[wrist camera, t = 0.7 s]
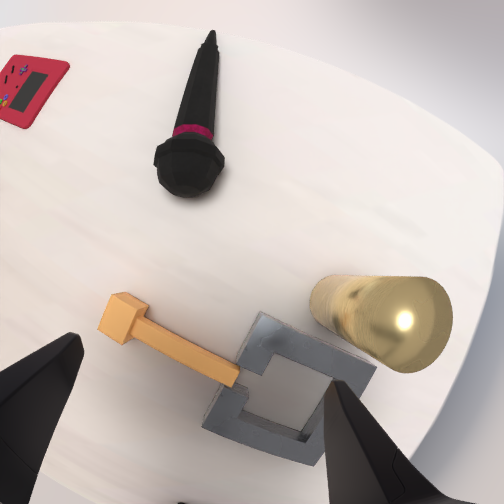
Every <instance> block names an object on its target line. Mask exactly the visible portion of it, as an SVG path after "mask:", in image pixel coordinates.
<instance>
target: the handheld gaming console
mask: <svg viewBox="0 0 504 504" xmlns="http://www.w3.org/2000/svg"><path fill="white" fill-rule="evenodd" d="M69 68H70V65H69V63H68V62H66V61H60V60H54V59H48V58H41V57H33V56H25V55H13V56H12V57H11V58H10V60H9V61H8V62H7V64H6V65H5V67H4V68H3V69H2V71H1V72H0V119H2V120H4V121H6V122H9V123H11V124H13V125H16V126H18V127H20V128H23V129H27V128H29V127H30V126H31V125H32V123H33V122H34V120H35V118H36V117H37V115H38V113H39V112H40V110H41V109H42V107H43V105H44V104H45V102H46V101H47V99H48V98H49V96H50V95H51V93H52V92H53V90H54V89H55V88H56V86H57V85H58V83H59V82H60V80H61V79H62V78H63V76H64V75H65V74H66V72H67V71H68V70H69Z"/></svg>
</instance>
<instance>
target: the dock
mask: <svg viewBox="0 0 504 504" xmlns="http://www.w3.org/2000/svg"><path fill="white" fill-rule="evenodd" d="M274 352H275V353H278V354H280V355H282V356H284V357H286V358H289V359H291V360H293V361H296V362H298V363H300V364H303V365H305V366H307V367H310V368H312V369H314V370H317V371H319V372H322V373H324V374H326V375H329V376H331V377H334V379H333V380H344V381H345V382H346V383H347V385H348V386H349V387H350V388H351V390H352V391H353V392H354V393H355V395H356V396H357V397H358V398H360V397H361V395H362V393H363V392H364V390H365V388H366V386H367V385H368V383H369V381H370V379H371V377H372V376H373V374H374V372H375V370H376V368H377V367H376V366H375V365H373V364H372V363H370V362H369V361H367V360H365V359H363V358H361V357H358V356H356V355H354V354H351V353H349V352H347V351H345V350H342V349H340V348H338V347H336V346H333V345H331V344H329V343H327V342H324V341H322V340H320V339H318V338H316V337H313V336H311V335H309V334H307V333H305V332H303V331H300V330H298V329H296V328H294V327H292V326H290V325H288V324H286V323H284V322H281V321H279V320H277V319H275V318H273V317H271V316H269V315H267V314H265V313H263V312H261V311H260V312H259V314H258V316H257V318H256V320H255V322H254V324H253V326H252V328H251V330H250V332H249V334H248V336H247V337H246V339H245V341H244V343H243V345H242V347H241V349H240V351H239V353H238V355H237V356H236V365H239V366H241V367H243V368H245V369H247V370H249V371H252V372H254V373H256V374H258V375H261V376H262V374H263V372H264V370H265V368H266V367H267V365H268V363H269V361H270V359H271V357H272V356H273V354H274ZM248 398H249V395H248V388H247V387H244V386H242V385H240V384H237V383H235V382H234V383H233V385H232V387H229V386H227V385H225V384H223V383H222V384H221V386H220V388H219V390H218V392H217V394H216V395H215V397H214V399H213V401H212V403H211V404H210V406H209V408H208V410H207V412H206V413H205V415H204V418H203V422H202V426H201V427H202V428H204V429H207V430H209V431H211V432H214V433H216V434H218V435H221V436H223V437H226V438H228V439H231V440H233V441H236V442H238V443H241V444H244V445H246V446H249V447H252V448H255V449H258V450H261V451H263V452H266V453H269V454H273V455H276V456H279V457H282V458H285V459H289V460H292V461H295V462H299V463H303V464H306V465H310V466H314V465H315V464H316V463H317V461H318V460H319V459H320V457H321V456H322V455H323V453H324V452H325V446H324V396H323V398H322V400H321V401H320V403H319V405H318V406H317V408H316V409H315V411H314V413H313V414H312V416H311V417H310V419H309V420H308V422H307V424H306V425H305V427H304V428H303V430H302V431H301V432H300V431H297V430H294V429H291V428H288V427H286V426H283V425H280V424H277V423H274V422H272V421H269V420H266V419H264V418H261V417H259V416H256V415H254V414H251V413H249V412H246V411H244V410H242V409H243V407H244V405H245V404H246V402H247V400H248Z"/></svg>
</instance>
